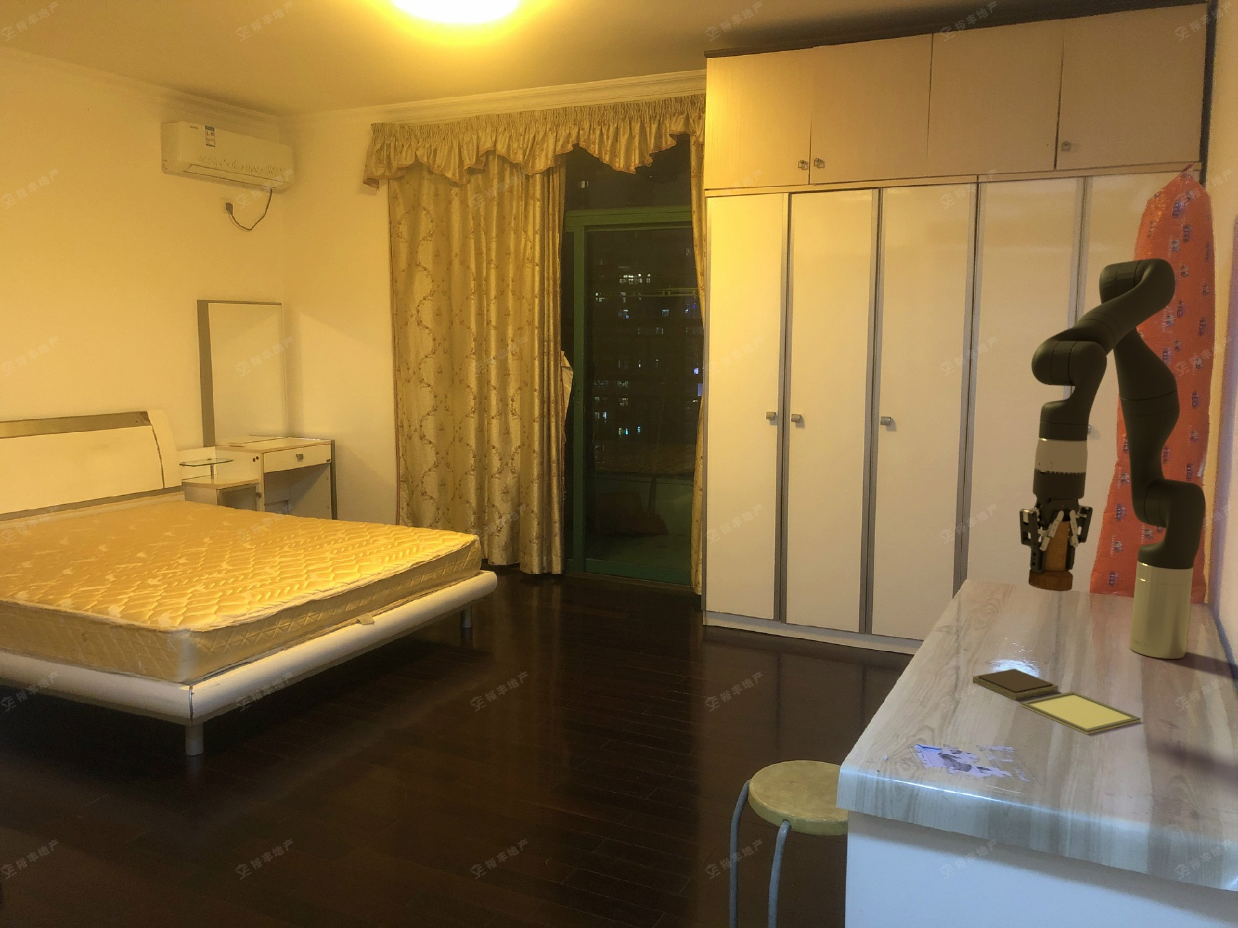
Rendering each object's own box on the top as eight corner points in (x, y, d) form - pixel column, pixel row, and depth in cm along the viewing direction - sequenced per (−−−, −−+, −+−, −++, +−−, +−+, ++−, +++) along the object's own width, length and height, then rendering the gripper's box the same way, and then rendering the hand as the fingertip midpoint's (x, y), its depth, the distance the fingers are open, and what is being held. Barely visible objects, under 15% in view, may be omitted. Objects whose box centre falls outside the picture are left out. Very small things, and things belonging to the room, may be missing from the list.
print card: (1072, 694, 156) (1072, 691, 156) (1140, 721, 145) (1140, 717, 145) (1020, 705, 151) (1020, 702, 151) (1087, 734, 140) (1087, 730, 140)
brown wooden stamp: (1076, 593, 148) (1086, 480, 145) (1032, 589, 149) (1041, 477, 147) (1067, 582, 154) (1076, 474, 152) (1024, 579, 156) (1033, 472, 153)
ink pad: (1014, 673, 165) (1014, 667, 165) (1057, 691, 157) (1058, 684, 157) (972, 681, 161) (973, 675, 161) (1015, 700, 153) (1015, 693, 153)
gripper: (1072, 462, 156) (1063, 562, 158) (1008, 465, 150) (1000, 568, 152) (1112, 468, 149) (1103, 572, 151) (1046, 472, 143) (1038, 579, 145)
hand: (1051, 570), depth 151 cm, fingers closed on brown wooden stamp, 5 cm apart
